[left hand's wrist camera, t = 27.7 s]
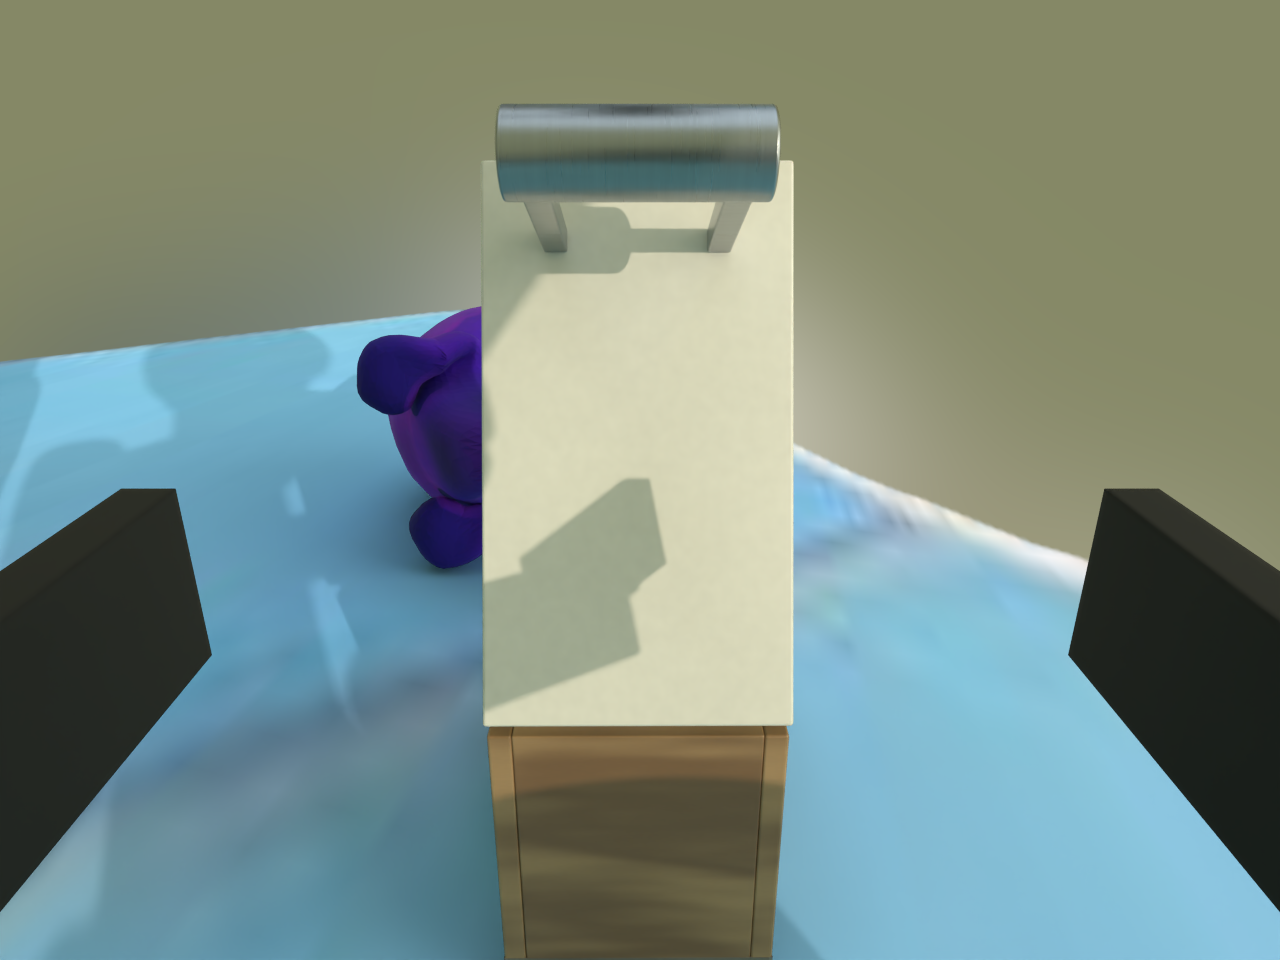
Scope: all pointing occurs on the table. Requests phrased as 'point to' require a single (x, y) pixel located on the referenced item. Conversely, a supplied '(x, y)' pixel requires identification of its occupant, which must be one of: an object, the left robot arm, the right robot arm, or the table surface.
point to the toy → (435, 427)
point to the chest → (638, 840)
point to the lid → (637, 416)
